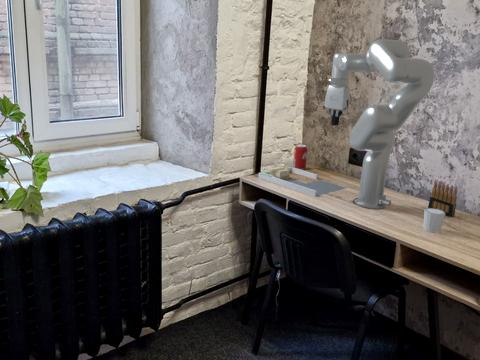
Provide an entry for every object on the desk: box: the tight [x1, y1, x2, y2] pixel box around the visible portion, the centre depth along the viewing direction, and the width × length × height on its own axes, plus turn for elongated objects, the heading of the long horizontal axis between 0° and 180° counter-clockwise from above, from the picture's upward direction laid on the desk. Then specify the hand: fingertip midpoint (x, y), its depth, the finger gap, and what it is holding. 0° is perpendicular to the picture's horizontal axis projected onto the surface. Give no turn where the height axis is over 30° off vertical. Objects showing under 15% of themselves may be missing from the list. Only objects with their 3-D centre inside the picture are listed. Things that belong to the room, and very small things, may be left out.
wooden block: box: [269, 166, 290, 180], centre depth 220 cm, size 6×6×4 cm
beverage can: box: [292, 144, 308, 171], centre depth 243 cm, size 6×6×12 cm
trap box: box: [257, 166, 347, 197], centre depth 216 cm, size 32×22×4 cm
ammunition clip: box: [427, 180, 458, 218], centre depth 191 cm, size 11×2×12 cm, turn 33°
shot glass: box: [422, 207, 446, 234], centre depth 172 cm, size 7×7×7 cm
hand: (334, 125), depth 216 cm, fingers closed
